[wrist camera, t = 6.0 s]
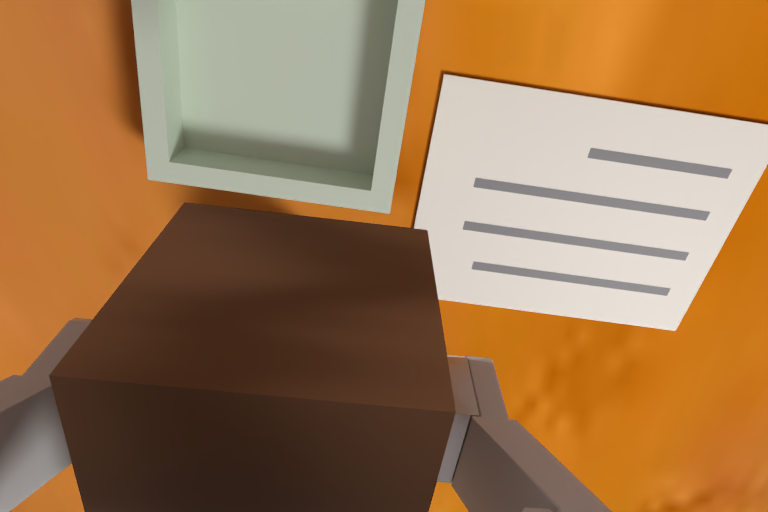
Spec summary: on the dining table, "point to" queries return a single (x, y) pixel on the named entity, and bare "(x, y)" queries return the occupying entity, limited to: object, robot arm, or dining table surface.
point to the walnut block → (262, 371)
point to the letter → (580, 200)
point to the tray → (277, 95)
